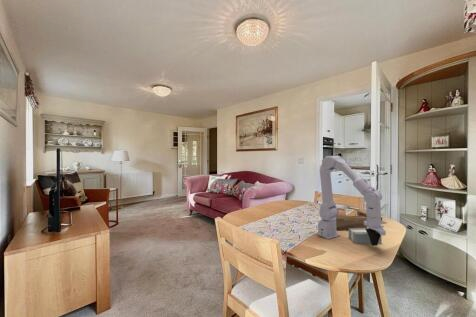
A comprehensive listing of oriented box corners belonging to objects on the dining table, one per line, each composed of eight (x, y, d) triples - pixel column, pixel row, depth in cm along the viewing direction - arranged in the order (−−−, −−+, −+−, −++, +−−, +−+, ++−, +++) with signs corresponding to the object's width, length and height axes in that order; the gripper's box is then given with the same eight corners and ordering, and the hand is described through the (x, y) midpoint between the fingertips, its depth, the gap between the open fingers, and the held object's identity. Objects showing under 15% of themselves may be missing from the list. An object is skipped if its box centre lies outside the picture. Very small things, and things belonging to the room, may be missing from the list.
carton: (381, 244, 103) (381, 233, 103) (356, 244, 104) (355, 233, 104) (372, 237, 111) (372, 228, 111) (348, 237, 112) (348, 228, 112)
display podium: (367, 230, 121) (367, 218, 121) (335, 230, 122) (335, 218, 122) (362, 227, 126) (362, 215, 126) (332, 227, 128) (331, 216, 127)
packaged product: (354, 209, 149) (367, 209, 149) (354, 216, 149) (367, 216, 149) (371, 217, 131) (386, 216, 131) (371, 225, 131) (387, 224, 132)
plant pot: (341, 222, 137) (341, 211, 137) (332, 219, 143) (332, 208, 143) (348, 220, 140) (348, 209, 140) (339, 217, 146) (339, 207, 146)
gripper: (392, 220, 91) (393, 252, 91) (373, 211, 105) (374, 238, 106) (375, 221, 91) (376, 252, 92) (359, 212, 106) (359, 238, 106)
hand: (374, 245), depth 99 cm, fingers closed
